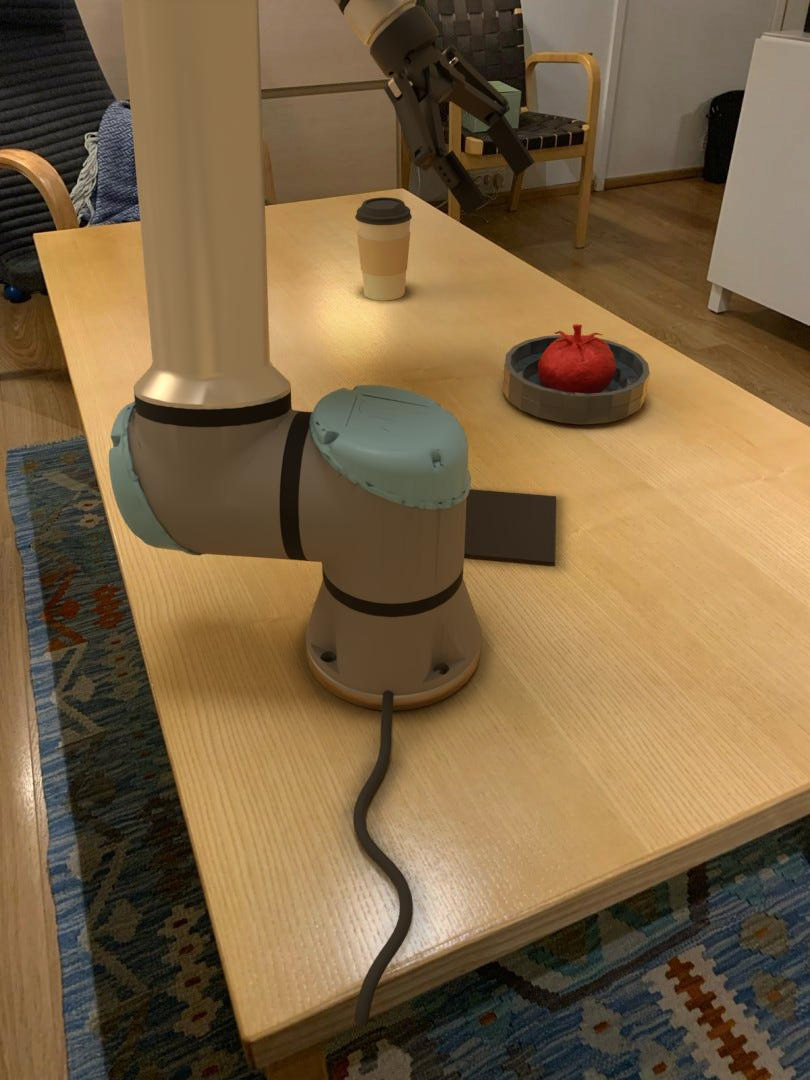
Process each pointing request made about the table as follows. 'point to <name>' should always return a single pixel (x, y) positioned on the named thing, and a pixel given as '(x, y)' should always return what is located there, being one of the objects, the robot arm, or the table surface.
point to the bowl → (567, 406)
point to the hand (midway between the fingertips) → (502, 188)
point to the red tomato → (577, 363)
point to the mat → (510, 527)
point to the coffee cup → (383, 246)
